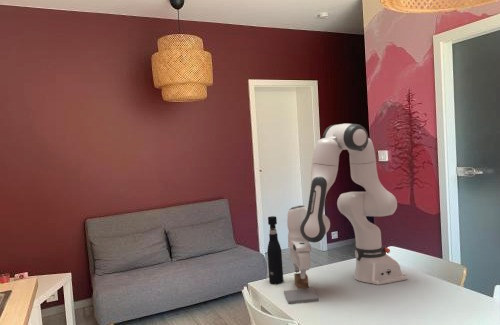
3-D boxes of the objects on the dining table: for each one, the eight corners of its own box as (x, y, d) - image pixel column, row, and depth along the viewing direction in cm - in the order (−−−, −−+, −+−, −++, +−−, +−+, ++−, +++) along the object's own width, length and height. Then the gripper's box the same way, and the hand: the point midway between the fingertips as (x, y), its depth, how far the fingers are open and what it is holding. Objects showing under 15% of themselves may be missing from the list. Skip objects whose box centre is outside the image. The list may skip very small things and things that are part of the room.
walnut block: (305, 283, 169) (305, 272, 169) (308, 287, 164) (307, 276, 164) (294, 284, 169) (294, 273, 168) (297, 288, 164) (296, 277, 164)
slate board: (311, 290, 160) (311, 288, 160) (318, 301, 149) (318, 298, 149) (283, 293, 159) (283, 290, 159) (288, 304, 148) (288, 301, 148)
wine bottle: (283, 279, 176) (279, 215, 175) (283, 284, 170) (279, 218, 169) (269, 279, 177) (265, 216, 176) (269, 284, 171) (264, 218, 170)
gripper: (285, 239, 174) (287, 269, 174) (297, 248, 154) (298, 282, 154) (299, 238, 175) (300, 267, 175) (312, 247, 155) (313, 281, 155)
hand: (299, 275), depth 164 cm, fingers open, 8 cm apart
